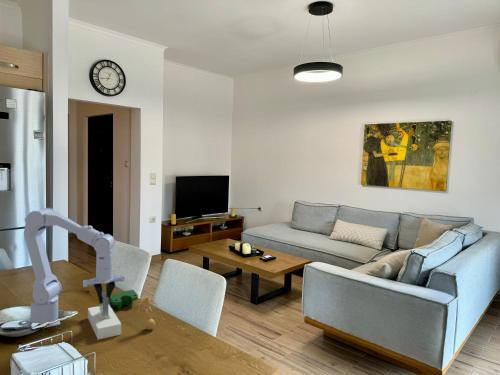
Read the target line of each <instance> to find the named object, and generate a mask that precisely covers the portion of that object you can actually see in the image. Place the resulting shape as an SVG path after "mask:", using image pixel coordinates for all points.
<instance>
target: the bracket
mask: <svg viewBox="0 0 500 375" xmlns="http://www.w3.org/2000/svg"><path fill="white" fill-rule="evenodd" d="M99 306H100V312H101V314H102V315H103V316H105V315H108V307H109V297H108V295H107V294H106V291H102V303H101V304H100V303H99Z"/></svg>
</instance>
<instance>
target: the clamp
mask: <svg viewBox="0 0 500 375" xmlns="http://www.w3.org/2000/svg"><path fill="white" fill-rule="evenodd" d="M138 299H139V294H138V293H137V292H136V291H135V290H134V289H129V290H125V291H120V292H115V293H111V296H110V300H109V305H110V307H111V308H112V309H115V308H117V309H118V310H119V311H121V310H122V306H126V305H127V306H129V307H130V308H132V307H133V303H134V301H137V300H138Z"/></svg>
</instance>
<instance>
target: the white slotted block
mask: <svg viewBox="0 0 500 375" xmlns="http://www.w3.org/2000/svg"><path fill="white" fill-rule="evenodd" d="M87 319H88V321H89V324H90V325H91V327H92V328H91V329H92V330H93V332H94V333H95V336H96V339H97V340H98V341H99V340H102V339H107V338H112V337H115V336H116V337H117V336H120V335H122V323H121V321H120V319H119V318H118V316H117V314H116V313H115V311H114V310H113V308H111V307H110V305H109V307H108V315H105V316H103V315H102V314H101V312H100V305H99V306H92V307H88V308H87Z"/></svg>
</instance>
